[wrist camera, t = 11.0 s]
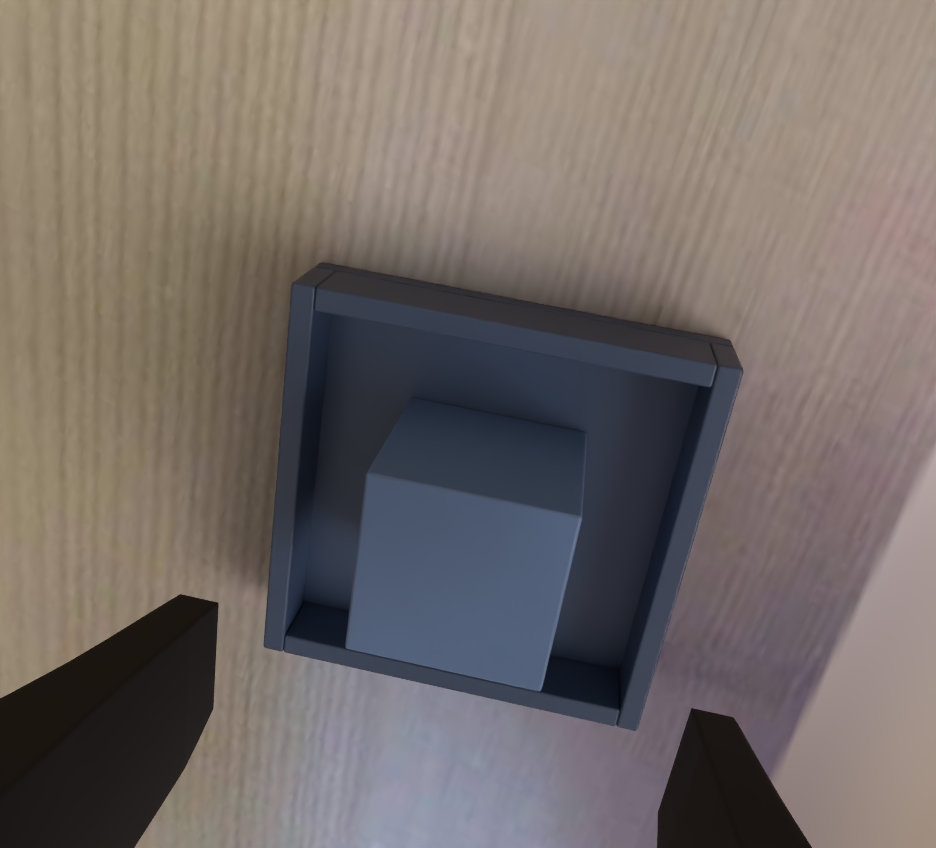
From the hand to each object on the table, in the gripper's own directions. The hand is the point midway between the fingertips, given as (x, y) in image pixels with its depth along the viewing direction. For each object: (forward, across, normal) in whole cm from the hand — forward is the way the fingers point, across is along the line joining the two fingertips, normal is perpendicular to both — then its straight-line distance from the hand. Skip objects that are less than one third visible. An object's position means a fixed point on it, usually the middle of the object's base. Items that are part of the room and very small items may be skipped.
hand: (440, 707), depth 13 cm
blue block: (+8, 0, 0) cm, 8 cm away
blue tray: (+8, 0, 0) cm, 8 cm away
